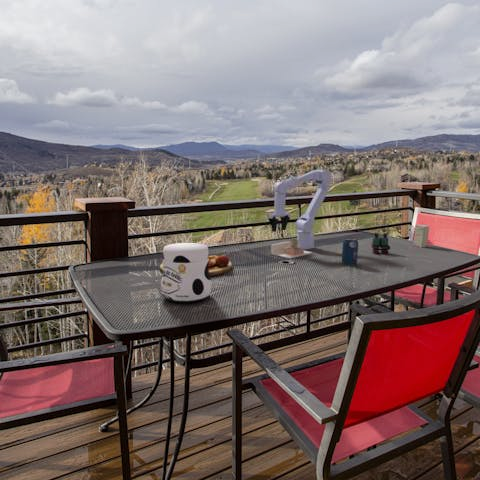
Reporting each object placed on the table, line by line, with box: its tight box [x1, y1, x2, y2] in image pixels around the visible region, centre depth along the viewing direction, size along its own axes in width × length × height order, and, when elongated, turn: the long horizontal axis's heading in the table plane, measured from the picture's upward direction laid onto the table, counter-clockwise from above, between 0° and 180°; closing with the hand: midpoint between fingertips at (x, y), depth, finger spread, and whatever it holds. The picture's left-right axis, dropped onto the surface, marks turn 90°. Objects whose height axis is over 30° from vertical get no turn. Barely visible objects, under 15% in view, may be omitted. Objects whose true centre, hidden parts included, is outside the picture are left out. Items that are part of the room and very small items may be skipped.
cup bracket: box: [270, 240, 313, 259], centre depth 209 cm, size 18×12×5 cm
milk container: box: [160, 242, 212, 303], centre depth 139 cm, size 17×17×18 cm
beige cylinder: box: [290, 238, 298, 250], centre depth 208 cm, size 4×4×7 cm
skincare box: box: [413, 224, 430, 248], centre depth 231 cm, size 6×4×12 cm
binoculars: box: [371, 232, 391, 256], centre depth 212 cm, size 9×11×10 cm
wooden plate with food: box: [159, 254, 233, 277], centre depth 180 cm, size 32×32×8 cm
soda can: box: [341, 237, 359, 266], centre depth 189 cm, size 7×7×12 cm
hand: (278, 230), depth 217 cm, fingers open, 7 cm apart
